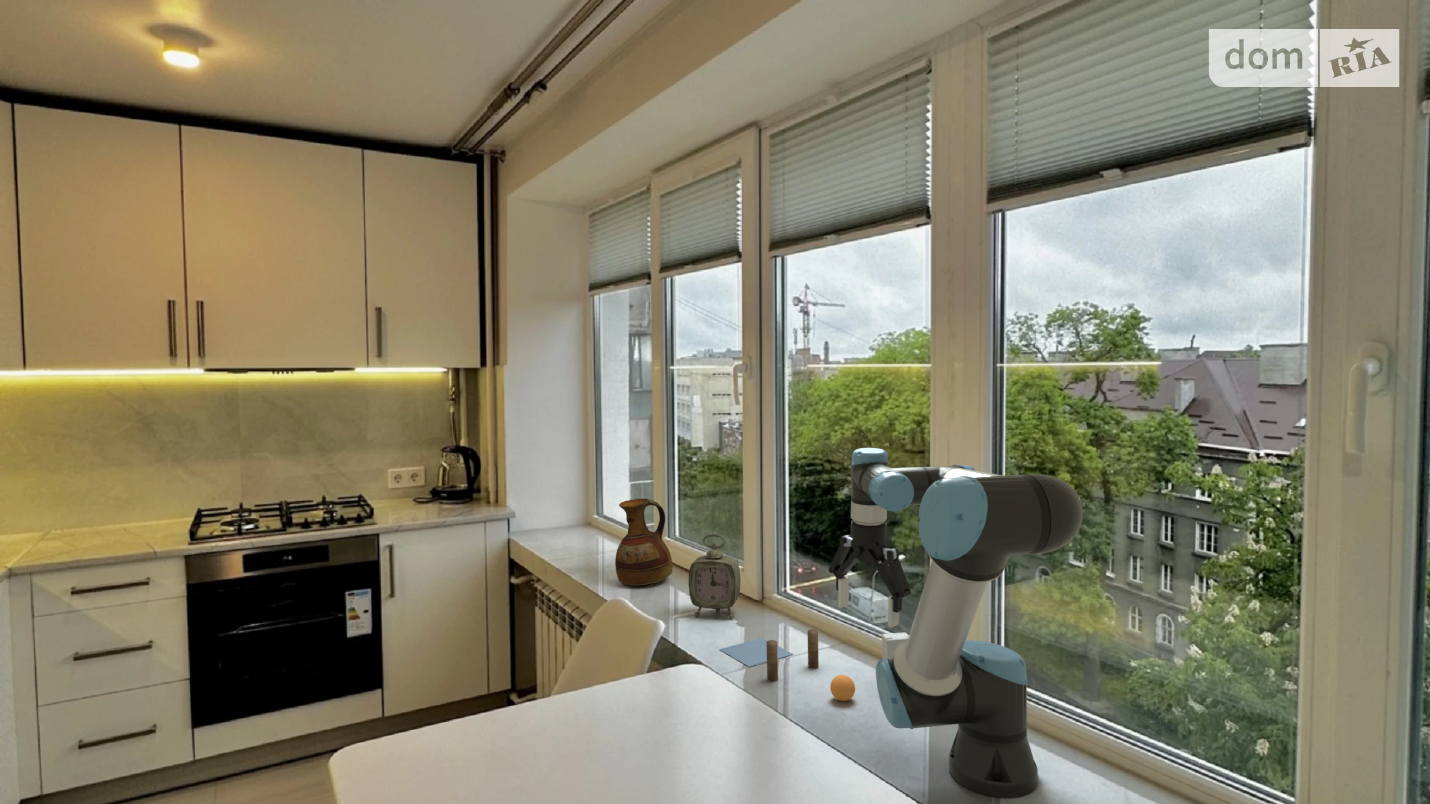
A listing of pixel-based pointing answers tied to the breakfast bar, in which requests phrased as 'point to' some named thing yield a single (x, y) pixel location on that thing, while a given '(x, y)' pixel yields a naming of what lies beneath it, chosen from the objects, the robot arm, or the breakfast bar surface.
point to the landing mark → (752, 652)
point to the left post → (772, 660)
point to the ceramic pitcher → (642, 547)
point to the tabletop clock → (714, 580)
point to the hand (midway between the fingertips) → (867, 615)
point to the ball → (842, 687)
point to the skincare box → (892, 643)
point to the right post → (813, 649)
